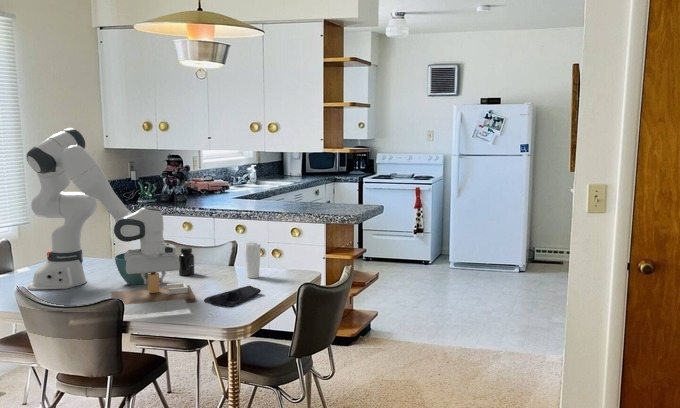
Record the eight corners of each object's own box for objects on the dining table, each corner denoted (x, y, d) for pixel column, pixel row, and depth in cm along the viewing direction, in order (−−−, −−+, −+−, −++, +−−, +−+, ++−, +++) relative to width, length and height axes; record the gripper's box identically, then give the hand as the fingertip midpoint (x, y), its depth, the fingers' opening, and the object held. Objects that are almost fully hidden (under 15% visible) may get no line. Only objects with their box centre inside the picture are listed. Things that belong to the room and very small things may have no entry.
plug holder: (169, 294, 242) (168, 289, 241) (167, 288, 250) (166, 284, 249) (187, 292, 244) (187, 287, 244) (185, 287, 252) (185, 282, 252)
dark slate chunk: (267, 296, 247) (267, 284, 246) (229, 309, 228) (229, 297, 228) (238, 290, 255) (238, 279, 254) (199, 303, 237) (198, 291, 236)
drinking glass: (262, 275, 279) (261, 242, 277) (258, 279, 272) (258, 245, 270) (247, 275, 279) (247, 242, 277) (243, 278, 273) (243, 245, 271)
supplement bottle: (192, 276, 277) (191, 249, 275) (177, 276, 277) (176, 249, 275) (196, 272, 284) (195, 246, 282) (181, 272, 284) (180, 246, 282)
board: (111, 309, 226) (111, 305, 226) (111, 295, 245) (111, 291, 245) (195, 301, 237) (195, 297, 237) (189, 288, 255) (189, 285, 255)
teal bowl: (147, 290, 253) (146, 260, 252) (107, 287, 257) (106, 258, 255) (168, 279, 271) (167, 251, 269) (130, 277, 274) (129, 250, 273)
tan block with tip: (148, 293, 241) (147, 267, 240) (148, 290, 245) (147, 265, 243) (159, 292, 242) (158, 267, 241) (158, 289, 246) (157, 264, 245)
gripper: (124, 251, 235) (125, 287, 237) (179, 248, 242) (180, 282, 244) (123, 248, 241) (125, 283, 243) (178, 245, 248) (179, 279, 250)
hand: (153, 283), depth 243 cm, fingers closed on tan block with tip, 4 cm apart
